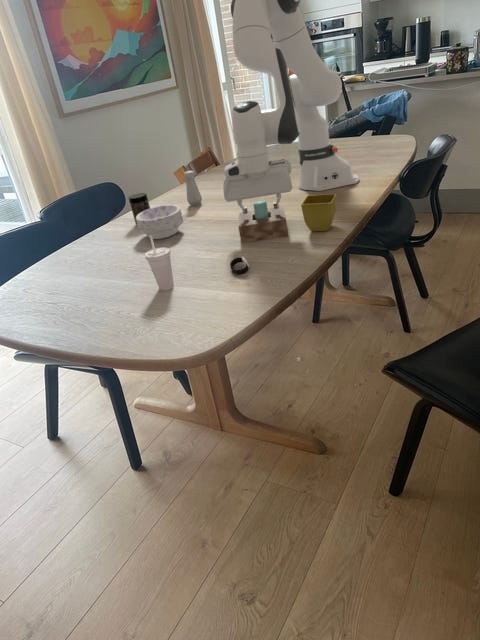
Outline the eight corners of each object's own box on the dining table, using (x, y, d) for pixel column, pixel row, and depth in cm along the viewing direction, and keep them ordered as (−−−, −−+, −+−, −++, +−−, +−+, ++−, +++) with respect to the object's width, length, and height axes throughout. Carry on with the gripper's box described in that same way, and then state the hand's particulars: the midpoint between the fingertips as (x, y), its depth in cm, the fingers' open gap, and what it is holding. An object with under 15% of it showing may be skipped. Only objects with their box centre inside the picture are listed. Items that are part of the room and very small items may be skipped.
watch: (253, 273, 120) (251, 260, 118) (236, 278, 119) (233, 265, 117) (244, 263, 126) (242, 251, 125) (227, 268, 125) (225, 255, 124)
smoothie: (155, 284, 124) (141, 233, 117) (179, 279, 124) (166, 229, 117) (153, 294, 118) (138, 242, 111) (178, 290, 118) (165, 237, 111)
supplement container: (152, 218, 179) (145, 191, 174) (155, 223, 173) (147, 195, 168) (135, 223, 178) (127, 195, 173) (137, 227, 172) (128, 199, 167)
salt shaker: (200, 206, 183) (193, 172, 176) (186, 207, 184) (179, 174, 178) (204, 201, 188) (197, 168, 181) (191, 203, 189) (183, 170, 183)
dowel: (269, 225, 146) (266, 200, 142) (270, 229, 143) (266, 203, 139) (257, 227, 147) (253, 202, 143) (257, 231, 143) (253, 205, 139)
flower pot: (338, 222, 141) (336, 193, 137) (334, 233, 134) (331, 202, 130) (309, 224, 144) (306, 195, 140) (303, 234, 137) (300, 204, 133)
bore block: (285, 221, 151) (283, 205, 148) (288, 235, 138) (286, 219, 136) (241, 227, 152) (239, 212, 150) (241, 243, 140) (238, 226, 137)
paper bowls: (149, 246, 151) (142, 223, 147) (136, 236, 163) (129, 213, 160) (192, 232, 156) (187, 209, 152) (176, 223, 168) (171, 201, 165)
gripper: (289, 155, 137) (294, 202, 144) (220, 167, 139) (228, 213, 146) (290, 160, 132) (296, 208, 138) (219, 172, 134) (227, 219, 140)
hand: (260, 210), depth 142 cm, fingers open, 8 cm apart
